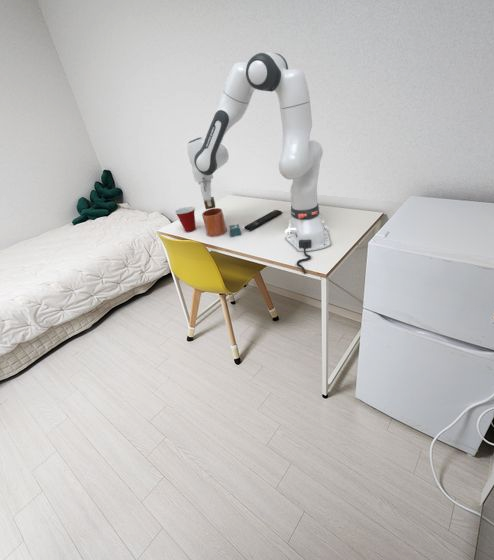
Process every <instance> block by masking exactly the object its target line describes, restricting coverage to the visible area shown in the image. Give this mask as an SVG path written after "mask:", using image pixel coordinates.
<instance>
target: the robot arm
mask: <svg viewBox="0 0 494 560" xmlns="http://www.w3.org/2000/svg"><path fill="white" fill-rule="evenodd" d="M308 86H309V85H308V81H307V78H306V76H305V73H304V72H303V70H301V69H300V68H289V65H288V62H287V59H286V58H285V57H284V56H283V55H281V54H280V53H277V52H272V51H265V52H259V53H256V54H255V55H252V57H250V58H249V60H248V62H245V61H238V62H236V63H234V64H233V65H232V67H231V69H230V71H229V73H228V74H227V78H226V80H225V82H224V84H223V88H222V91H221V95H220V98H219V101H218V105H217V107H216V109H215V113H214V116H213V118H212V120H211V123H210V125H209V127H208V130H207V133H206V135H205V138H203V137H197V138H194V139H192V140H190V141H188V143H187V145H186V146H187V148H186V149H187V154H188V155H187V156H188V158H189V163H190V164H191V171H192V175H193V178H194V182H196V183H197V184H198V185H199V186H200V191H201V196H202V200H203V202H204V201H207V204H208V206H212V204H211V197H212V180H213V178H214V173H215V172H216V171H217V170H220V168H222V167H223V166H224V165H225V164H227V162H228V160H229V152H228V149H227V148H226V147H225V145H223V144H222V142H223V140H224V137H225V135H226V134H227V132H228V131H229V130H230V129H231V128H232V127H233V126H234V125H236V124H237V123H238V122H239V121H240V120H242V119H243V117H244V115H245V113H246V111H247V109H248V107H249V105H250V102H251V100H252V96H253V94H254V92H255V90H258V91H263V92H270V93H271V92H275V93H276V95H277V98H278V104H279V112H280V120H281V126H282V127H281V128H282V147H281V155H280V159H279V160H278V161H279V162H278V171H279V174H280V175H281V176H282V177H283V178H284V179H287V180H292V183H291V185H290V190H289V191H290V203H291V206H290V214H291V217H290V219H288V228H287V229H286V230H285V231H284V232H285V233H288V234H287V235H285V239H286V240H287V241H288V242H289V243H290V244H291V245H292V246H293V247H294V248H295V249H296V250H297V251H298V252H303V254H304V256H306V258H301V259H298V260H297V262H296V265H297V266H298V267H300V268H301V269H302V271H303V272H302V273H303V274H304V275H305V274H306V273H307V272H306V268H305V267H304V266H303V265H302V264H300V263H301V262H303V261H308V260H310V259H311V258H312V256H311V255H309V254H308V253H307V252H311V251H318V250H322V249H325V248H327V247H330V246H331V239H330V236H329V233H328V225H327V224H324V223H325V219H324V218H322V213H320V205H319V202H318V180H319V175H320V166H321V161H322V158H323V154H324V153H323V151H324V150H323V147H322V144H320V142H318V141H316V140H314V139H313V140H312V139H310V137H311V131H312V128H313V117H312V116H313V115H312V108H311V99H310V98H311V97H310V92H309V91H310V90H309V87H308Z"/></svg>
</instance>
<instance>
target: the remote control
mask: <svg viewBox="0 0 494 560" xmlns="http://www.w3.org/2000/svg"><path fill="white" fill-rule="evenodd" d="M281 214H283V211H282V210H279V209H274V210H272V211H270V212H268V213H266V214H264V215H263V216H260V217H259V218H258V219H256V220H255V219H254V221H251V222H250V223H248V224H247V225H245V226H243V228H244V229H245V230H246V231H252V230H254V229H256V228H258V227H259V226H261V225H263V224H265V223H267V222H268V221H270V220H272V219H274V218H275V217H277V216H279V215H281Z"/></svg>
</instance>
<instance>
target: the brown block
mask: <svg viewBox="0 0 494 560" xmlns="http://www.w3.org/2000/svg"><path fill="white" fill-rule="evenodd" d="M203 204H204V207H205V210H209V209H214V208H216V200H215V197H214V196H211V204H212V206H208V204H207V201H204V200H203Z"/></svg>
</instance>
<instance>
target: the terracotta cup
mask: <svg viewBox="0 0 494 560" xmlns="http://www.w3.org/2000/svg"><path fill="white" fill-rule="evenodd" d="M201 216H202V220H203V223H204V227H205V231H206V235H207V236H208V237H211V238H212V237H219V236H222V235H224V234H225V233H226V232H227V226H226V222H225V217H224V212H223V209H221V208H220V207H219V208H217V207H215V208H211V209H206V210H204V211H203V212H202V213H201Z"/></svg>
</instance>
